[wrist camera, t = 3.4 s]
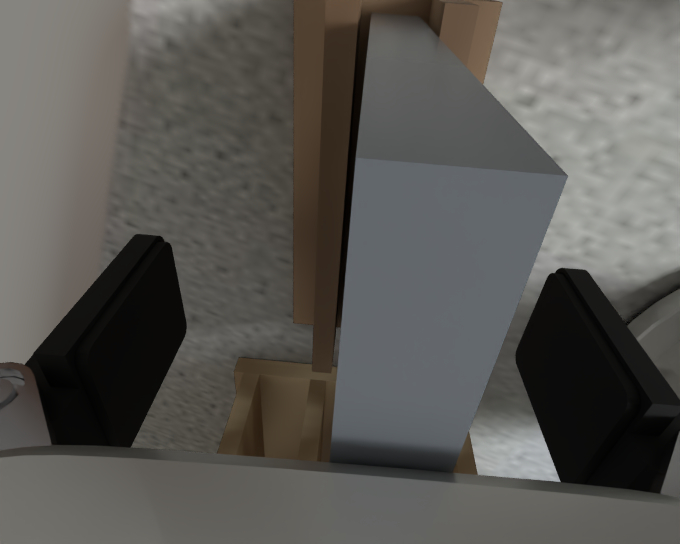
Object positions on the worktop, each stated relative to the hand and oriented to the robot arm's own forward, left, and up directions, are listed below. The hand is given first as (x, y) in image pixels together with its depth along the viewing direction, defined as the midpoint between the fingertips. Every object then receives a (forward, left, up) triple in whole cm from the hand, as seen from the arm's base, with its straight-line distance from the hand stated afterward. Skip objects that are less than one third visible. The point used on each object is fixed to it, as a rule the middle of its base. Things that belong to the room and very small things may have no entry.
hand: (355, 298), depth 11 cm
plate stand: (0, 0, -7) cm, 7 cm away
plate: (0, 0, -6) cm, 6 cm away
